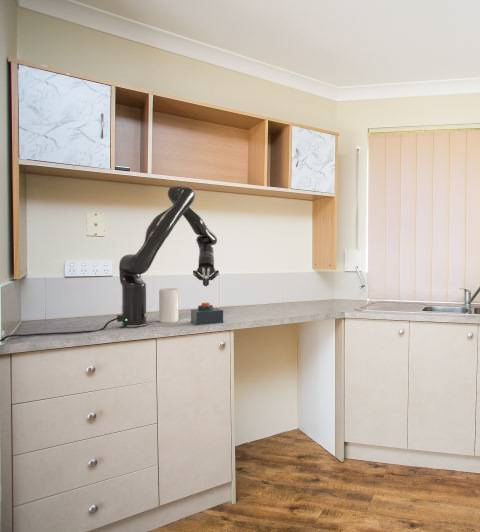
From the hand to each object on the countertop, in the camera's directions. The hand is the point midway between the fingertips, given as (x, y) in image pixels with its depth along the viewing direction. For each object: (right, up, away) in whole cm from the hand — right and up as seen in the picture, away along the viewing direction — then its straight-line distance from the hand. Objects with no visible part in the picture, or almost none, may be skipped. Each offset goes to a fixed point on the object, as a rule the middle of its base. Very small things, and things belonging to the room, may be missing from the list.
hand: (205, 285), depth 202 cm
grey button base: (+5, -18, -9) cm, 21 cm away
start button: (+3, -10, -7) cm, 13 cm away
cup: (-15, -18, -7) cm, 24 cm away
